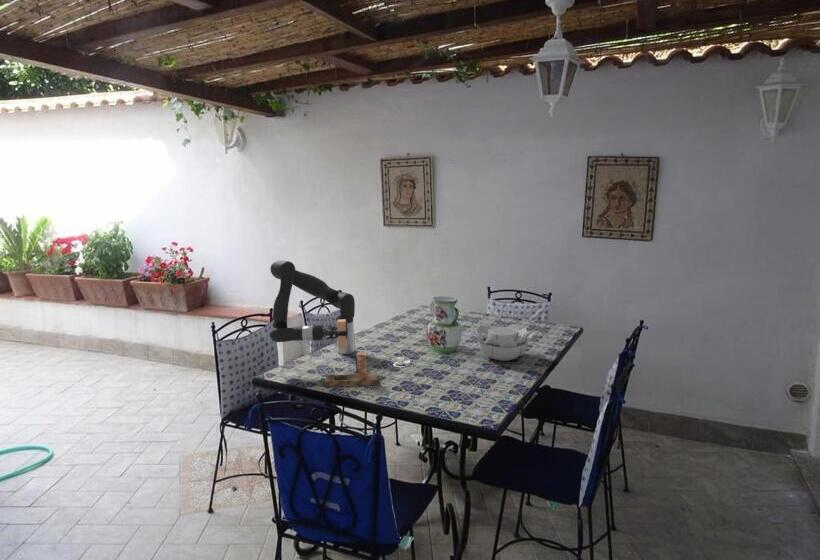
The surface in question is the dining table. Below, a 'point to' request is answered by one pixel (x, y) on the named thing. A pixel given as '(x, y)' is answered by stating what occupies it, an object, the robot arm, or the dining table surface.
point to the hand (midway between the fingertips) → (347, 332)
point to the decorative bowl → (502, 341)
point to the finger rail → (353, 375)
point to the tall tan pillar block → (342, 339)
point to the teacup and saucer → (401, 361)
